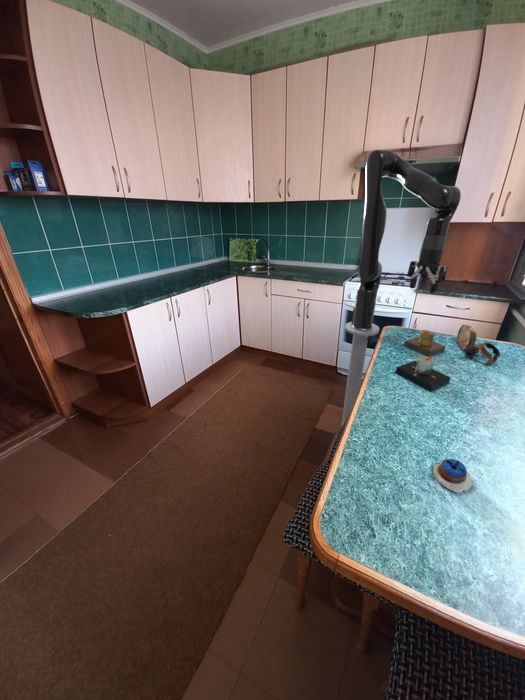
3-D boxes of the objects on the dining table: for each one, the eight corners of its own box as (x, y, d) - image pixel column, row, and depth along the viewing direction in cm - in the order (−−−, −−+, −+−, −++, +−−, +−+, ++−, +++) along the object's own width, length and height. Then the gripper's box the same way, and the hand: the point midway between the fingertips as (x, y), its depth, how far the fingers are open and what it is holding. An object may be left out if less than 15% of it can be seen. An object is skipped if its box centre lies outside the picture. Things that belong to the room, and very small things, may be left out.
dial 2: (424, 377, 100) (428, 363, 97) (412, 370, 104) (415, 357, 101) (434, 373, 102) (437, 360, 100) (421, 367, 106) (424, 354, 103)
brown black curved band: (478, 353, 121) (495, 341, 114) (488, 372, 115) (507, 361, 109) (453, 348, 118) (470, 336, 112) (463, 367, 113) (480, 355, 106)
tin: (455, 338, 133) (460, 321, 129) (463, 339, 132) (469, 322, 128) (463, 353, 120) (470, 334, 117) (472, 354, 119) (479, 335, 116)
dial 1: (424, 339, 127) (426, 328, 124) (434, 344, 123) (437, 332, 120) (415, 342, 125) (418, 330, 123) (425, 346, 121) (428, 334, 118)
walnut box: (403, 345, 128) (405, 340, 126) (418, 341, 132) (420, 335, 131) (428, 356, 118) (430, 351, 117) (444, 351, 122) (445, 345, 121)
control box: (395, 372, 107) (396, 366, 106) (413, 366, 112) (415, 360, 110) (430, 391, 96) (432, 385, 95) (449, 383, 100) (451, 377, 99)
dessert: (439, 455, 71) (460, 449, 66) (460, 479, 69) (482, 475, 65) (424, 474, 67) (445, 470, 62) (445, 501, 65) (469, 498, 60)
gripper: (457, 249, 103) (445, 293, 111) (421, 244, 115) (412, 285, 122) (444, 250, 100) (432, 296, 108) (409, 246, 111) (400, 287, 119)
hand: (421, 290), depth 115 cm, fingers open, 8 cm apart
